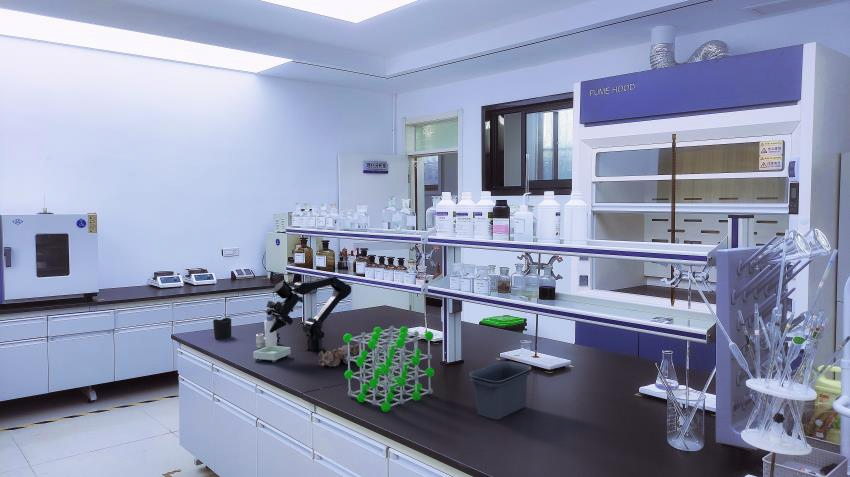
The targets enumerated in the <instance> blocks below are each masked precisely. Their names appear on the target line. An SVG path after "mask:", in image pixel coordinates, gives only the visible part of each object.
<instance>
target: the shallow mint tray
mask: <svg viewBox="0 0 850 477" xmlns="http://www.w3.org/2000/svg"><path fill="white" fill-rule="evenodd" d="M291 354H292V353H291V347H289V346H278V345H277V346H274V347H266V346H264V347H263V348H258V349H257V350H254V351H253V352H252V355H253V356H252V358H253V359H254V361H255V362H258V361H260V360H267V361H272V363H273V364H276V363H277V361H278V360H279V359H281V358H284V357H285V358H289V357H290V355H291Z"/></svg>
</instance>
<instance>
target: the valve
mask: <svg viewBox="0 0 850 477" xmlns="http://www.w3.org/2000/svg"><path fill="white" fill-rule="evenodd" d="M276 335H277V344H278V343H280V342H281V341H280V340H281V337H280V333H279V332H278V331H277V330H276ZM255 336H256V339H255V344H256V348H257V349H262V348H265V345H264V344H265V336H264V333H257V334H256V335H255Z"/></svg>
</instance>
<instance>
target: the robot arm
mask: <svg viewBox="0 0 850 477" xmlns="http://www.w3.org/2000/svg"><path fill="white" fill-rule="evenodd" d="M328 286H329V287H330V286H331V288H332V289H333V290H332V294H331V296H330V298H329V299H328V300H327V301H326V303H325V304H324V305H323V306H322V308H321V309H320V310H319V311H318V312H317V314H316V315H315V316H314V317H310V316H309V317H308V318H307V320H306V321H305V322H303V324H304V325H303V327H302V331H303V333H304V334H305V337H306V338H307V348H306V351H309V352H320V351H323V350H324V349H325V347H324V346H323V339H324V338H325V332H324V331H323V330H322V329H323V324H324V322H325V321H326V319H327V318H328V317H329V316H330V314H331V313H332V312H333V310H334V309H335V308H336V306H338V304H339V303H340V301H342V300H344V299H347V297H348V296H349V295H350V294H351V293H352V287H351V285H350V284H348V283H346V282H344V281H342V280H341V279H339V278H338V277H336V276H332V275H329V276H327V277H324V278H320V279H316V280H315V279H314V280H312V281H296V282H294V284H292V285H289V284H288V282H286V281H285V280H281V281H280V282H278V283H277V284H276V285H275V286H274V287H273V292H274V293H276V295H277V296H279V297H280V298H281V299H283V301H278V300H275V301H272V300H271V301H270V300H268V301H267V303H266V304H267V305H266V308H268V309H266V311H265V314H267V315H266V316H269V315H273V319H276V321H275V323H274V324H273V326H272V328H271V329H270V333H272V332H274V331H277V330H280V329H281V328H284V327H285V326H287V325H288V326H291V325H292V324H293V322H294V319H293V318H292V317H291V316H290V315H289V314H290V313H293V312H294V308H295V307H296V305H297V304H298V303H301V304H303V303H304V299H303V298H304V297H303V296H305V295H307V294H309V293H311V292H312V291H313V290H318V289H320V288H324V287H328ZM293 292H294V293H293ZM300 295H302V296H300Z"/></svg>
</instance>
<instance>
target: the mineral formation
mask: <svg viewBox="0 0 850 477" xmlns="http://www.w3.org/2000/svg"><path fill="white" fill-rule="evenodd" d="M366 347H367V346H366V345H365V348H366ZM349 350H350V352H351V353H353V354H352V355H353V356H357V355H356V354H357V353H360V348H359V344H354V345H352V344H349ZM361 350H363V344H361ZM347 356H348V344H343V345H342V346H341V347H340V346H339V347H338V348H337V349H336V348H334V349H332V351H330V350H326V352H325V353H324V352H323V350H319V353H318V356H317V357H318V358H319V359H318V363H317V364H318V366H319V365H320V367H321V366H322V367H324V366H325V365H326V366H328V367H336V366H337V367H338V366H339V365H341V360H342V361H343V364H348V361H347V359H346V358H347Z"/></svg>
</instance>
